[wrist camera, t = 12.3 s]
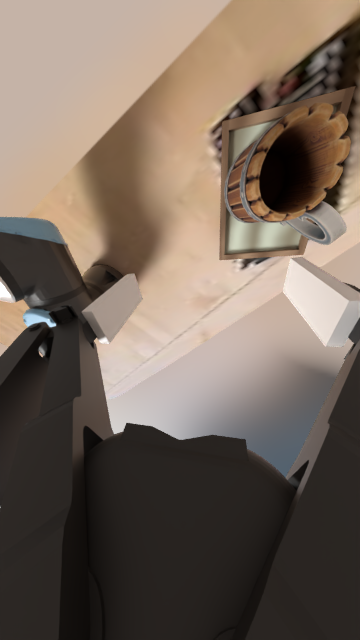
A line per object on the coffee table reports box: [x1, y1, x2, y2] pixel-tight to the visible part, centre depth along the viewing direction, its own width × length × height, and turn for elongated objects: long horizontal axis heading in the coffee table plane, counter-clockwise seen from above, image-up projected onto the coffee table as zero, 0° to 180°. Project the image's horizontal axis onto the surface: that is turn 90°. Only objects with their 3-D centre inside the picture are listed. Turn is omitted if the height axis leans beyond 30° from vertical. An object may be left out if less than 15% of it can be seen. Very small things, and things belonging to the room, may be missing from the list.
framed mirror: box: [220, 86, 356, 260], centre depth 29 cm, size 16×20×5 cm
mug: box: [224, 103, 351, 245], centre depth 22 cm, size 16×11×15 cm
